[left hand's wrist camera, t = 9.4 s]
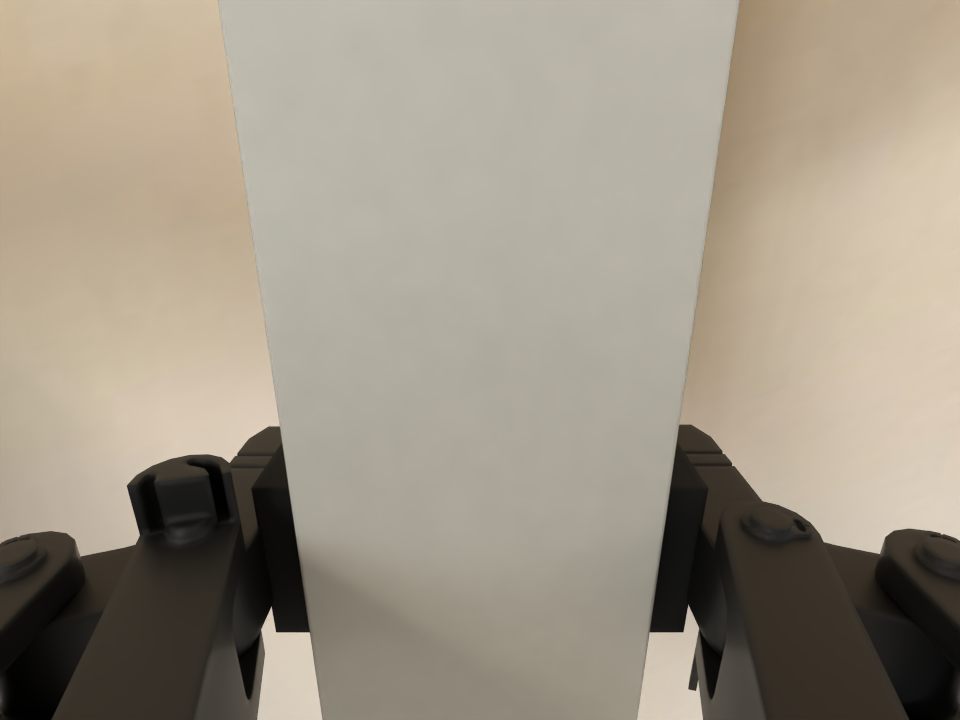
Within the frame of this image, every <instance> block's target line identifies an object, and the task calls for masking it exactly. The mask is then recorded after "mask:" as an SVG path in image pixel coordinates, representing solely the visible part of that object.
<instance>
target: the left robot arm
mask: <svg viewBox="0 0 960 720" xmlns="http://www.w3.org/2000/svg"><path fill="white" fill-rule="evenodd" d="M127 488H128V492H129V496H130V499H131V503H132V507H133V510H134V514H135V518H136V522H137V525H138V529H139V533H140V537H139V539H138V541H137V543H136V545H133V546H129V547H125V548H121V549H116V550H111V551H106V552H101V553H96V554H91V555H86V556H81V557H80V554H79V551H78V548H77V545H76V542H75V540H74V539H73V538H72V537H70V536H69V535H68V534H67V533H60V532H53V531H49V532H41V533H32V534H26V535H22V536H20V537H18V538H17V537H15V538H12V539H9V540H6V541H4V542H2V543H1V544H0V720H257V715H258V707H259V698H260V690H261V682H262V674H263V665H264V657H265V651H264V643H263V638H262V632H261V628H262V626H263V624H264V622H265V619H266V617H267V615H268V613H269V611H270V608H271V606H272V611H273V617H274V622H275V628H276V632H310V629H309V622H308V615H307V609H306V602H305V595H304V588H303V581H302V574H301V567H300V560H299V554H298V547H297V540H296V533H295V526H294V519H293V512H292V505H291V499H290V492H289V485H288V478H287V471H286V464H285V457H284V450H283V444H282V437H281V430H280V427H267V428H266V429H264V430H262V431H261V432H259V433H258V434H256V435H254V436H253V437H251V438H250V439H248V441H247V442H246V443H245V444H244V446H243V447H242V448H241V450H240V451H239V452H238V455H237V456H235V457H234V458H233V460H232V461H231V462H230V463H228V462H227V461H226V460H225V459H223V458H222V457H217V456H213V455H188V456H183V457H178V458H173V459H170V460H167V461H164V462H162V463H159V464H156V465H153V466H151V467H150V468H148V469H146V470H145V471H143V472H141V473H140V474H138V475H136V476H135V478H134V479H133V480H132V481H131V482H130V483H129V484H128V485H127ZM688 604H689V607H690V609H691V611H692V613H693V615H694V618H695V620H696V622H697V624H698V626H699V632H698V638H697V643H696V648H695V654H694V659H693V664H692V670H691V675H690V681H689V688H688V689H690V690H694V691H696V688H697V683H698V681H699V689H700V697H701V705H702V713H703V720H960V541H959V540H958V539H956V538H954V537H951V536H948V535H945V534H943V535H941V534H940V533H937V532H932V531H925V530H916V529H903V530H896V531H893V532H892V533H890V534H889V535H888V536H886V537H885V540H884V543H883V547H882V550H881V553H880V554H876V553H871V552H866V551H861V550H856V549H851V548H846V547H841V546H836V545H832V544H829V543H825V542H823V540H822V538H821V536H820V534H819V533H818V531H817V530H816V529H815V528H814V526H813V525H812V524H811V523H810V522H809V521H807V520H806V519H804V518H803V517H801V516H800V515H799V514H797V513H795V512H793V511H791V510H788V509H786V508H784V507H782V506H779V505H776V504H772V503H767V502H763V501H762V500H761V499H760V498H759V496H758V495H757V494H756V493H755V491H754V490H753V489H752V488H751V486H750V485H749V484H748V483H747V481H746V480H745V479H744V478H743V476H742V475H741V474H740V473H739V471H738V470H737V469H736V468H735V466H732V463H731V461H730V460H729V459H728V458H727V456H726V455H725V454H722V450H721V449H720V448H719V446H718V445H717V444H716V443H715V441H714V440H713V439H712V438H711V437H710V436H708V435H707V434H705V433H704V432H702V431H700V430H699V429H697V428H696V427H694V426H692V425H679V429H678V436H677V443H676V450H675V457H674V464H673V471H672V478H671V485H670V492H669V499H668V506H667V513H666V520H665V527H664V534H663V541H662V548H661V555H660V562H659V569H658V576H657V583H656V590H655V597H654V604H653V611H652V618H651V625H650V632H683V631H684V626H685V620H686V614H687V608H688Z"/></svg>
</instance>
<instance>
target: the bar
mask: <svg viewBox="0 0 960 720" xmlns="http://www.w3.org/2000/svg"><path fill="white" fill-rule="evenodd" d="M739 2H740V0H218V4H219V10H220V17H221V24H222V31H223V38H224V45H225V52H226V59H227V65H228V72H229V79H230V86H231V93H232V100H233V107H234V114H235V121H236V127H237V134H238V141H239V148H240V155H241V162H242V169H243V175H244V182H245V189H246V196H247V203H248V210H249V217H250V224H251V230H252V237H253V244H254V251H255V258H256V265H257V272H258V279H259V285H260V292H261V299H262V306H263V313H264V320H265V327H266V334H267V340H268V347H269V354H270V361H271V368H272V375H273V382H274V389H275V395H276V402H277V409H278V416H279V423H280V430H281V437H282V444H283V450H284V457H285V464H286V471H287V478H288V485H289V492H290V499H291V505H292V512H293V519H294V526H295V533H296V540H297V547H298V554H299V560H300V567H301V574H302V581H303V588H304V595H305V602H306V609H307V615H308V622H309V629H310V636H311V643H312V650H313V657H314V664H315V670H316V677H317V684H318V691H319V698H320V705H321V712H322V719H323V720H637V716H638V709H639V702H640V695H641V688H642V681H643V674H644V667H645V660H646V653H647V646H648V639H649V632H650V625H651V618H652V611H653V604H654V597H655V590H656V583H657V576H658V569H659V562H660V555H661V548H662V541H663V534H664V527H665V520H666V513H667V506H668V499H669V492H670V485H671V478H672V471H673V464H674V457H675V450H676V443H677V436H678V429H679V422H680V415H681V408H682V401H683V394H684V387H685V380H686V373H687V366H688V359H689V352H690V345H691V338H692V331H693V324H694V317H695V310H696V303H697V296H698V289H699V282H700V275H701V268H702V261H703V254H704V247H705V240H706V233H707V226H708V219H709V212H710V205H711V198H712V191H713V184H714V177H715V170H716V163H717V156H718V149H719V142H720V135H721V128H722V121H723V114H724V107H725V100H726V93H727V86H728V79H729V72H730V65H731V58H732V51H733V44H734V37H735V30H736V23H737V16H738V9H739Z"/></svg>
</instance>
